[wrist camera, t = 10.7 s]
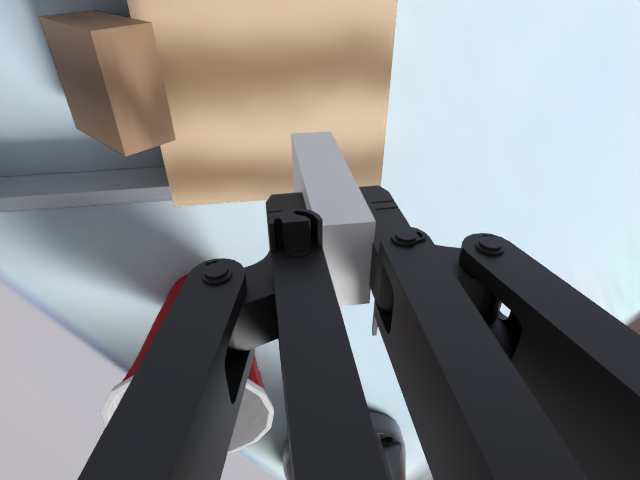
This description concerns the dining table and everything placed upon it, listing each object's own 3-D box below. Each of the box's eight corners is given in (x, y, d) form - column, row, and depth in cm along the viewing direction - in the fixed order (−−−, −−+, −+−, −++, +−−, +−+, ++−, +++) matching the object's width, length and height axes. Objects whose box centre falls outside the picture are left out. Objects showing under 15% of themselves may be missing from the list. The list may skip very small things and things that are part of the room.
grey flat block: (178, 178, 31) (172, 200, 28) (-37, 193, 29) (-62, 216, 27) (121, -86, 22) (106, -88, 19) (-190, -88, 20) (-249, -90, 18)
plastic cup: (111, 309, 37) (64, 444, 27) (184, 224, 33) (159, 345, 23) (218, 355, 42) (211, 483, 32) (291, 287, 38) (308, 407, 28)
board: (369, 172, 33) (380, 191, 30) (179, 185, 31) (174, 206, 28) (389, -97, 23) (406, -100, 21) (118, -99, 22) (103, -103, 19)
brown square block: (175, 140, 24) (125, 156, 23) (123, 115, 28) (76, 128, 26) (151, 22, 21) (90, 31, 19) (95, 10, 24) (38, 16, 22)
